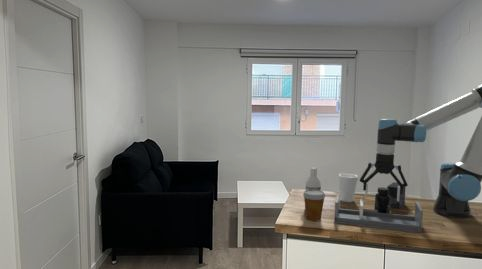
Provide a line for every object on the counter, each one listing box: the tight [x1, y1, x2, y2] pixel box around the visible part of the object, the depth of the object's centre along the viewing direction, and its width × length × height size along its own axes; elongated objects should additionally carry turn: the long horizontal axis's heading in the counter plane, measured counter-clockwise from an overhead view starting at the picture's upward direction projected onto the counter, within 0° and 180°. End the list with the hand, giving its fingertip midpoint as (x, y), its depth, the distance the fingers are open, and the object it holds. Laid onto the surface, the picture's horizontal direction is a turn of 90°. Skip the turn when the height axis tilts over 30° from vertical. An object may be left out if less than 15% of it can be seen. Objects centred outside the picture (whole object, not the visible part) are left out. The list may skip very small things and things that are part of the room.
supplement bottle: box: [373, 186, 391, 214], centre depth 170 cm, size 7×7×12 cm
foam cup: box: [337, 172, 359, 203], centre depth 191 cm, size 10×9×13 cm
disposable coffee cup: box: [302, 189, 326, 222], centre depth 163 cm, size 10×10×12 cm
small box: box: [386, 181, 407, 210], centre depth 183 cm, size 11×6×10 cm, turn 143°
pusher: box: [359, 198, 378, 219], centre depth 161 cm, size 7×10×7 cm
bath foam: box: [305, 166, 322, 191], centre depth 175 cm, size 7×7×20 cm
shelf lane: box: [333, 194, 424, 234], centre depth 160 cm, size 34×14×9 cm, turn 72°
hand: (381, 199), depth 170 cm, fingers open, 13 cm apart
